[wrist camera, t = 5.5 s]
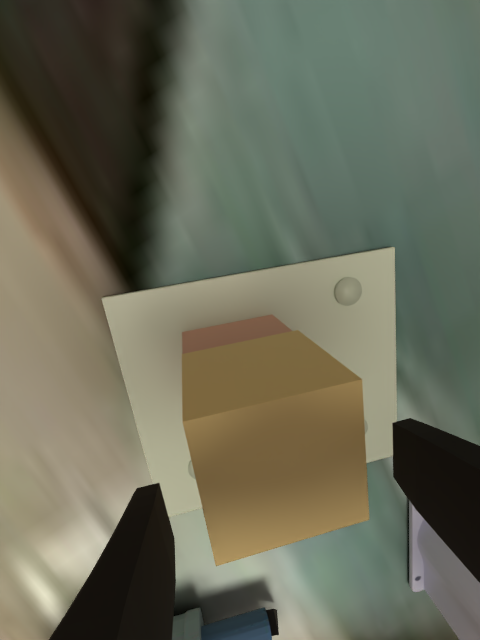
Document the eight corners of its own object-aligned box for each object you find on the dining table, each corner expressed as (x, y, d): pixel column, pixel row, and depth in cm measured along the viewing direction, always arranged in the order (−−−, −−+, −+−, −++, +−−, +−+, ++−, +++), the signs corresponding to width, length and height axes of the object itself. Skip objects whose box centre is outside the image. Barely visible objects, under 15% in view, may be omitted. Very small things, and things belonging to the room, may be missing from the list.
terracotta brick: (282, 394, 19) (308, 434, 15) (199, 414, 18) (204, 460, 14) (272, 314, 17) (297, 335, 14) (182, 332, 17) (182, 359, 13)
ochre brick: (308, 429, 15) (369, 519, 10) (204, 456, 14) (215, 566, 9) (297, 329, 13) (362, 379, 9) (181, 354, 13) (182, 422, 8)
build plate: (393, 450, 22) (399, 456, 21) (162, 513, 20) (162, 521, 19) (390, 247, 18) (396, 247, 17) (103, 296, 16) (100, 299, 15)
